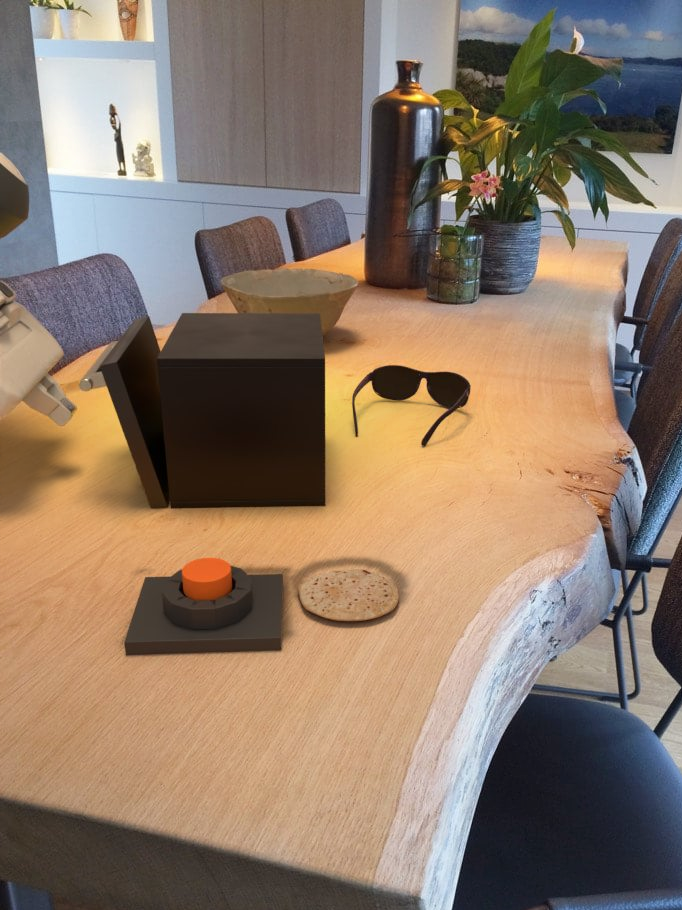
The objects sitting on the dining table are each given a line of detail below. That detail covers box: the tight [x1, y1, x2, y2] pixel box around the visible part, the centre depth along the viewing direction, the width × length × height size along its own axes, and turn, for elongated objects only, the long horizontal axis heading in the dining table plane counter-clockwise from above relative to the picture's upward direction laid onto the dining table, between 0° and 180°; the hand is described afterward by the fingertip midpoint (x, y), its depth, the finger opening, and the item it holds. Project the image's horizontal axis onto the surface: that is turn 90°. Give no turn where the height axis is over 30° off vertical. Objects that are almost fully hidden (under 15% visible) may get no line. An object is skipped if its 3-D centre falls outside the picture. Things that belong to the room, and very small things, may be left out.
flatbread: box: [297, 568, 400, 622], centre depth 66 cm, size 8×8×1 cm
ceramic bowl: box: [220, 268, 359, 337], centre depth 137 cm, size 22×23×10 cm
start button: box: [182, 557, 232, 600], centre depth 62 cm, size 4×4×2 cm
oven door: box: [78, 315, 170, 510], centre depth 85 cm, size 5×18×15 cm, turn 5°
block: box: [123, 565, 284, 656], centre depth 63 cm, size 11×9×3 cm
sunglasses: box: [351, 364, 472, 447], centre depth 103 cm, size 14×16×5 cm
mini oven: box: [157, 312, 326, 510], centre depth 86 cm, size 15×18×15 cm
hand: (70, 418), depth 85 cm, fingers closed
